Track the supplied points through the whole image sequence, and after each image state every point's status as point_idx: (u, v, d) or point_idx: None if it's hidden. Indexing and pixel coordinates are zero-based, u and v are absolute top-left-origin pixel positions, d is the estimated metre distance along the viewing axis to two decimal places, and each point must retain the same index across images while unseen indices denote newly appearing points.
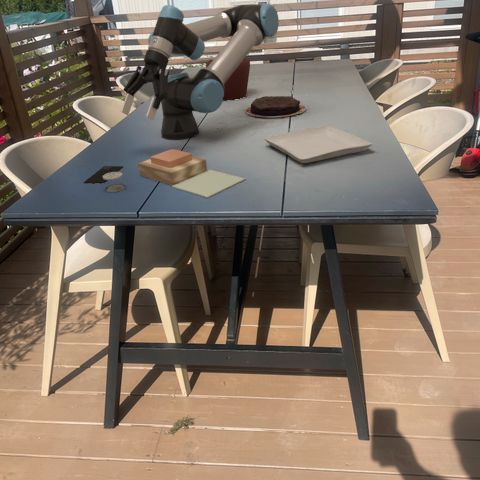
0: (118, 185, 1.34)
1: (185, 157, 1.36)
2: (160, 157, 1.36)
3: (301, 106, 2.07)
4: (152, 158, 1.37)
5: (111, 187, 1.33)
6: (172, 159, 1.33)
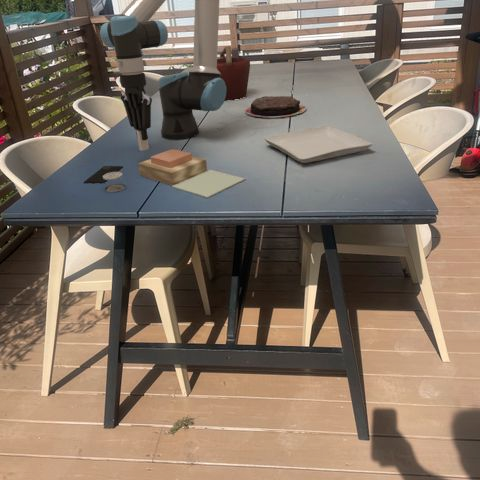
0: (118, 185, 1.34)
1: (185, 157, 1.36)
2: (160, 157, 1.36)
3: (301, 106, 2.07)
4: (152, 158, 1.37)
5: (111, 187, 1.33)
6: (172, 159, 1.33)
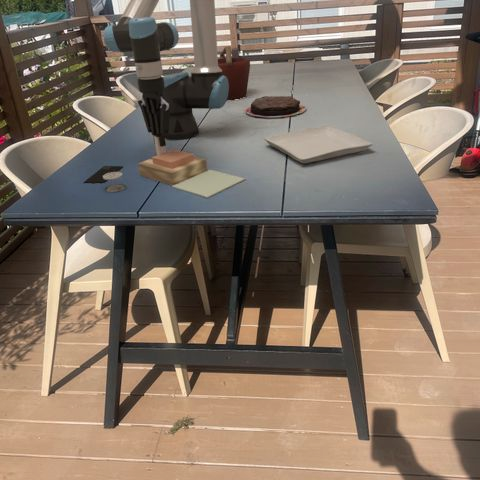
0: (118, 185, 1.34)
1: (187, 158, 1.35)
2: (162, 158, 1.35)
3: (301, 106, 2.07)
4: (154, 159, 1.36)
5: (111, 187, 1.33)
6: (174, 160, 1.33)
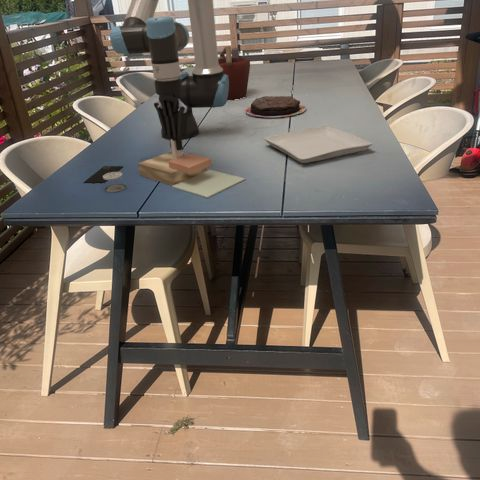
0: (118, 185, 1.34)
1: (205, 163, 1.31)
2: (179, 162, 1.31)
3: (301, 106, 2.07)
4: (170, 163, 1.31)
5: (111, 187, 1.33)
6: (192, 165, 1.28)
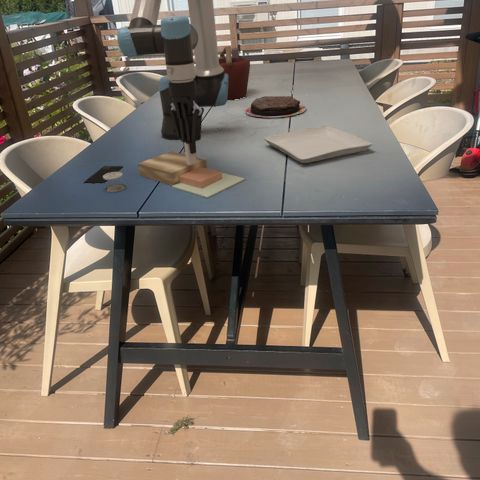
0: (118, 185, 1.34)
1: (215, 176, 1.30)
2: (189, 176, 1.30)
3: (301, 106, 2.07)
4: (181, 177, 1.31)
5: (111, 187, 1.33)
6: (203, 179, 1.28)
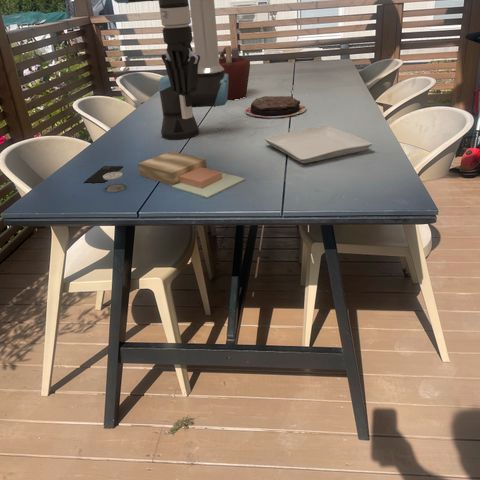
0: (118, 185, 1.34)
1: (215, 176, 1.30)
2: (189, 176, 1.30)
3: (301, 106, 2.07)
4: (181, 177, 1.31)
5: (111, 187, 1.33)
6: (203, 179, 1.28)
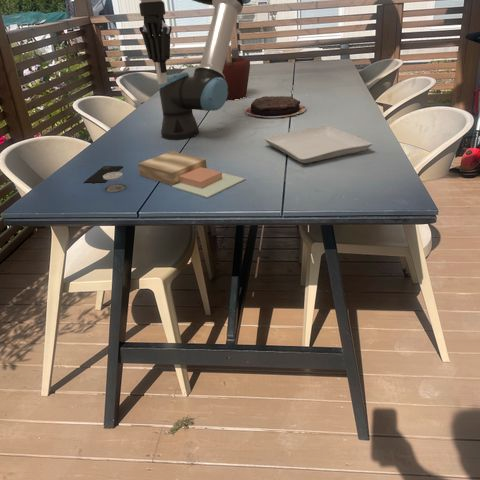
0: (118, 185, 1.34)
1: (215, 176, 1.30)
2: (189, 176, 1.30)
3: (301, 106, 2.07)
4: (181, 177, 1.31)
5: (111, 187, 1.33)
6: (203, 179, 1.28)
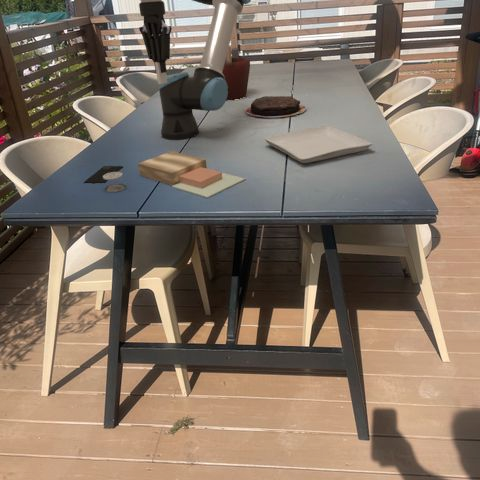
0: (118, 185, 1.34)
1: (215, 176, 1.30)
2: (189, 176, 1.30)
3: (301, 106, 2.07)
4: (181, 177, 1.31)
5: (111, 187, 1.33)
6: (203, 179, 1.28)
